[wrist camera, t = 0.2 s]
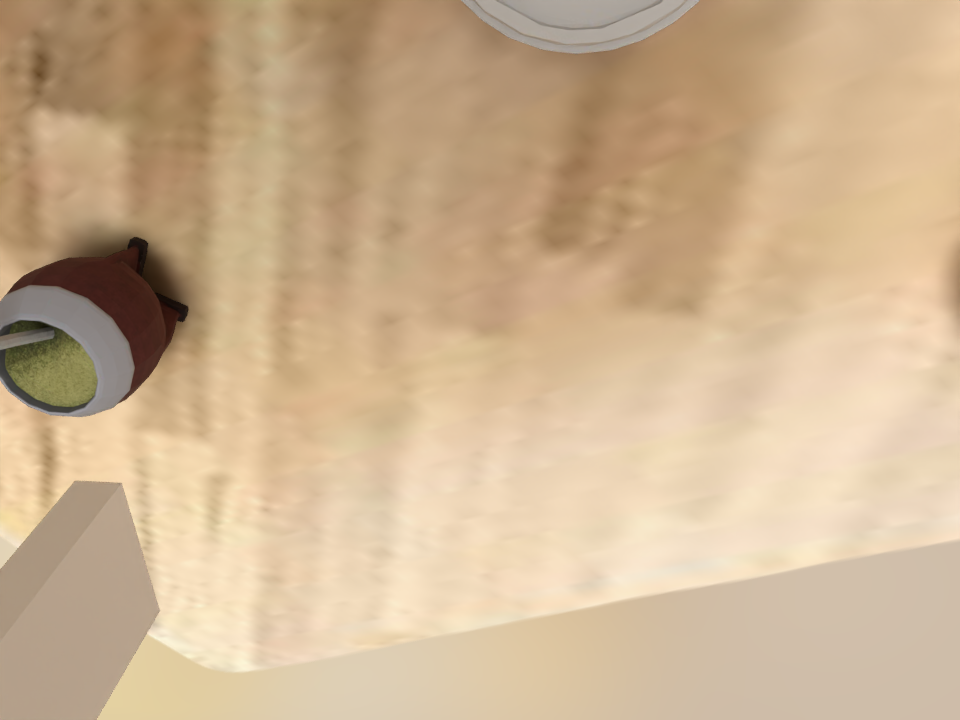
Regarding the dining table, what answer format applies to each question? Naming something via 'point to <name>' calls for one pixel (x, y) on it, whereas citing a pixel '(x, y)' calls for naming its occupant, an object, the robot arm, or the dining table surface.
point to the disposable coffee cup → (579, 21)
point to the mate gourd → (84, 332)
